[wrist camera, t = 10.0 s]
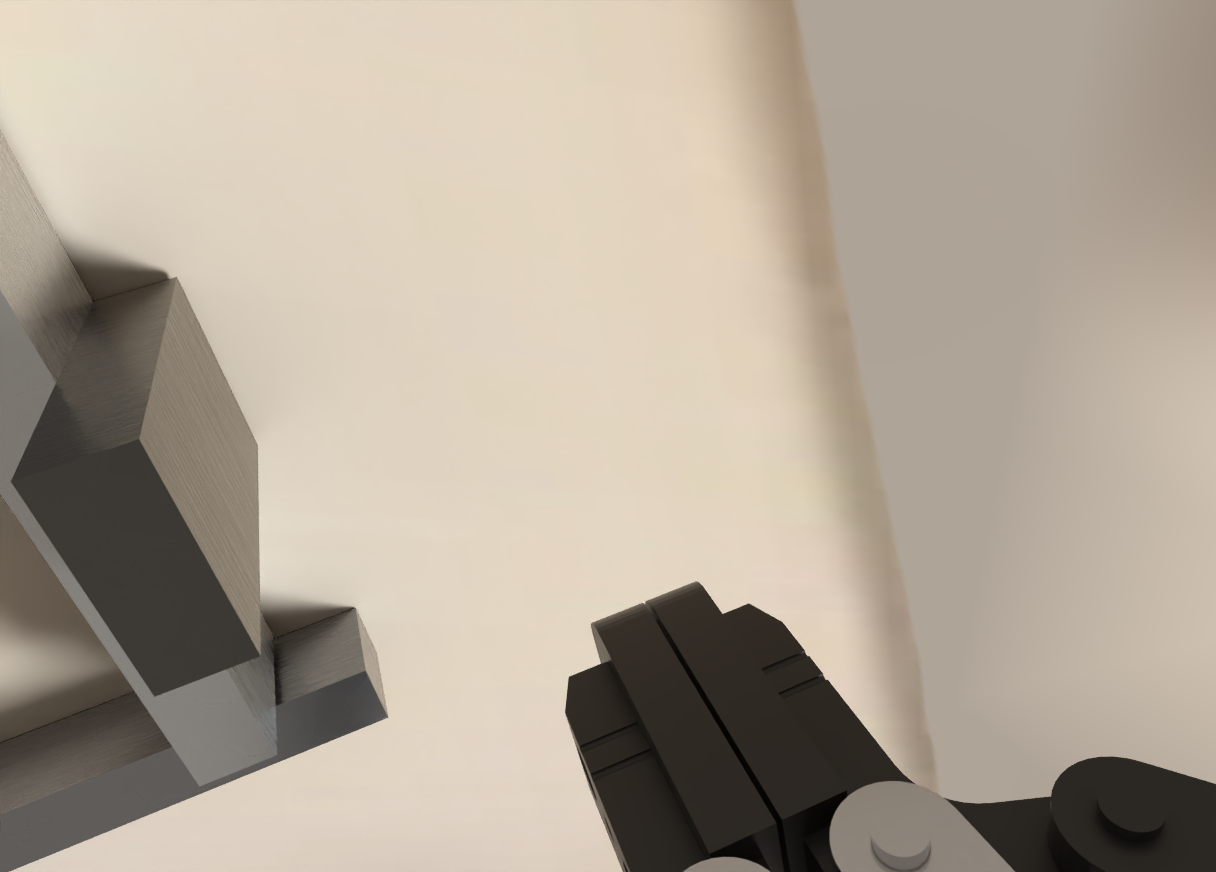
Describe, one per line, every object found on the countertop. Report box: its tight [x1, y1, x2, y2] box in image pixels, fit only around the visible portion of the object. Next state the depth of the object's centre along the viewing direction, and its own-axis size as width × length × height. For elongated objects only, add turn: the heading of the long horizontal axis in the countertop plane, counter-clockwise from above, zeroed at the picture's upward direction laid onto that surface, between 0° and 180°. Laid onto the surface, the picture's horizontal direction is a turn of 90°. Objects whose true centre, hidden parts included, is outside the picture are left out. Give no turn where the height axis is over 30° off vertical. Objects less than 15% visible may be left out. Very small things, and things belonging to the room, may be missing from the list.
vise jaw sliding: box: [0, 131, 277, 787], centre depth 19 cm, size 17×4×9 cm, turn 13°
